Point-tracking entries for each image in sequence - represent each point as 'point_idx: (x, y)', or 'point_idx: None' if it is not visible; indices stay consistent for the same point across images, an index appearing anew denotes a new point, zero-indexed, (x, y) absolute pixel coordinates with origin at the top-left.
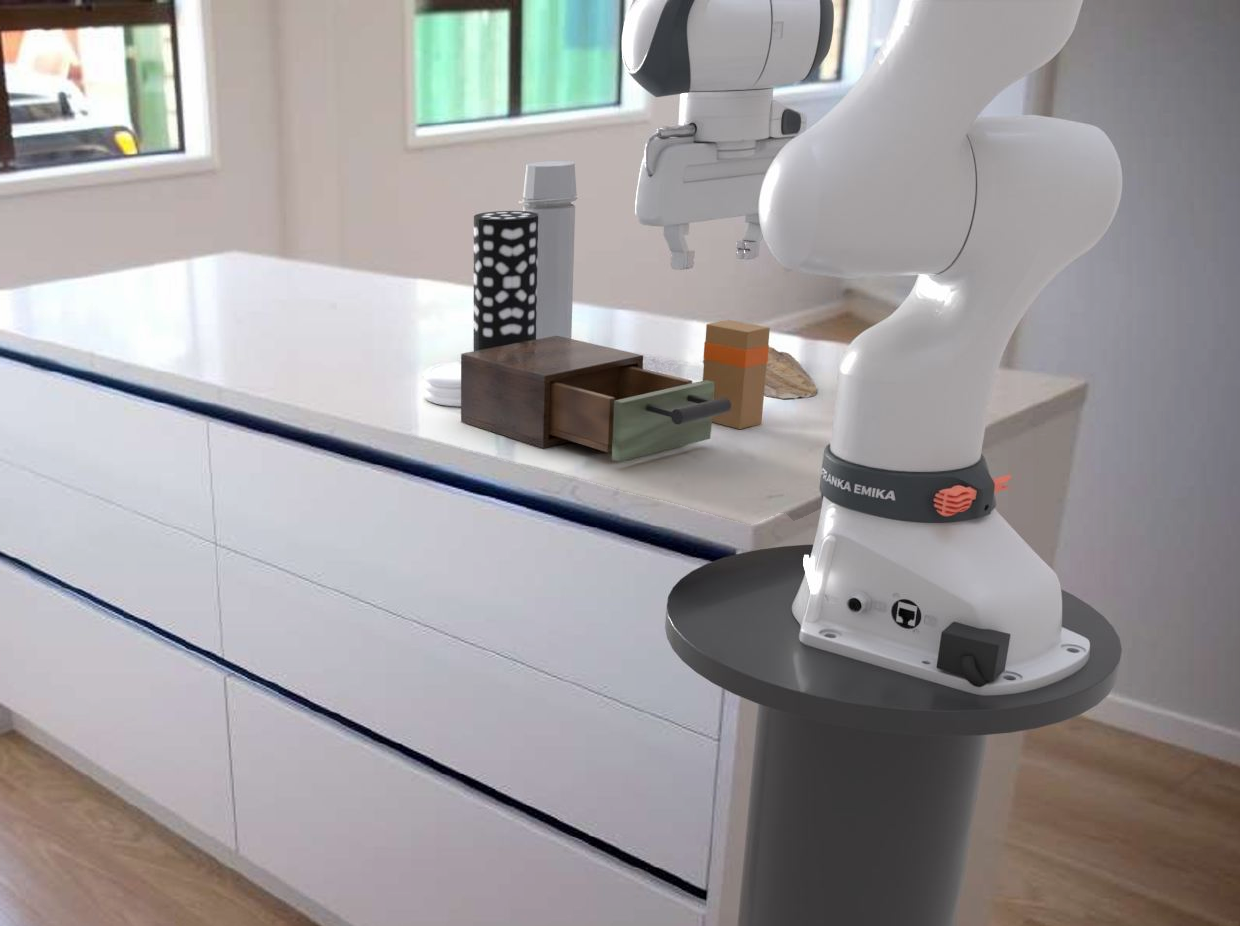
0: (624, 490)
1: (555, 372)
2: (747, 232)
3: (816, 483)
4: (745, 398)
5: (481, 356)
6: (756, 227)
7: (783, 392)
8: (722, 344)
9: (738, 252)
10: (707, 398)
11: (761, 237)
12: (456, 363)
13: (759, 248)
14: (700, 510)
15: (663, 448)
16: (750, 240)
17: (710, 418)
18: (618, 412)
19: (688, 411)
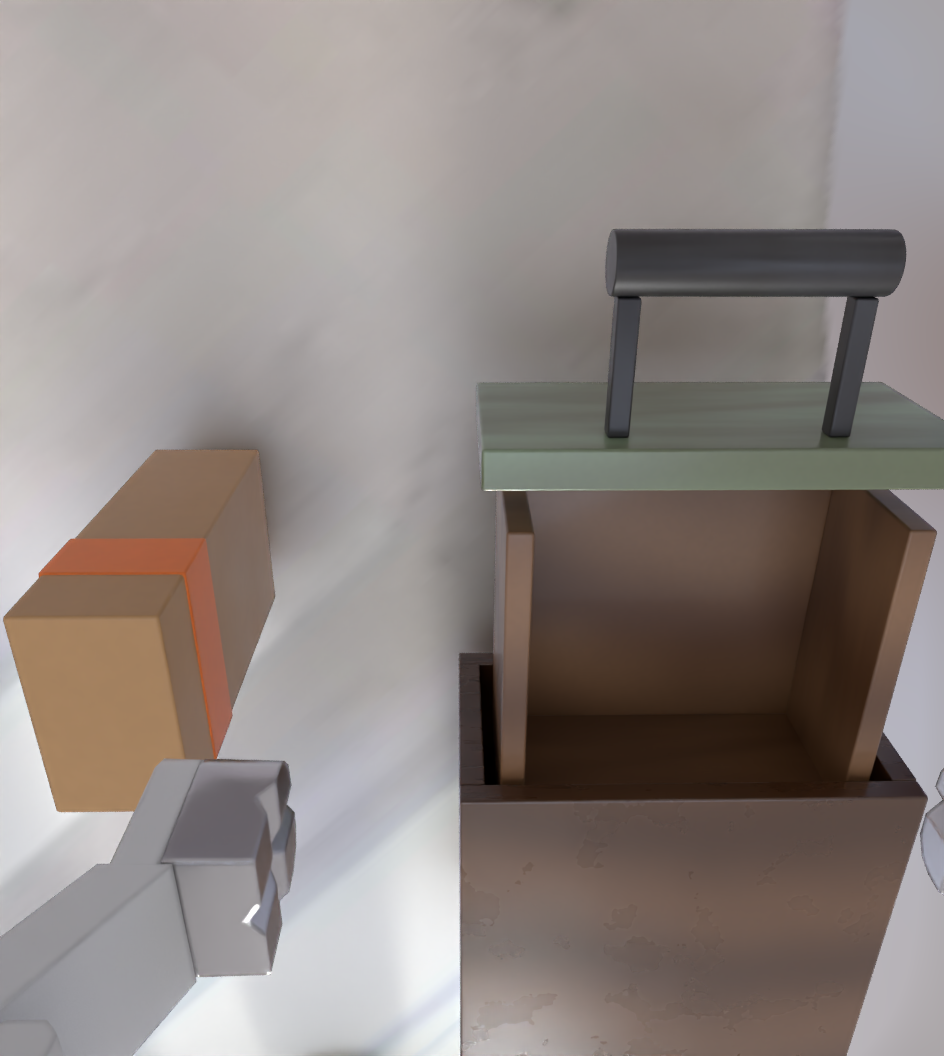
0: (815, 356)
1: (871, 805)
2: (132, 1033)
3: (332, 5)
4: (217, 488)
5: (830, 1039)
6: (57, 1034)
7: None
8: (201, 687)
9: (286, 875)
10: (514, 428)
11: (86, 886)
12: None
13: (139, 805)
14: (830, 61)
15: (695, 382)
16: (182, 916)
17: (487, 402)
18: None
19: (865, 240)
